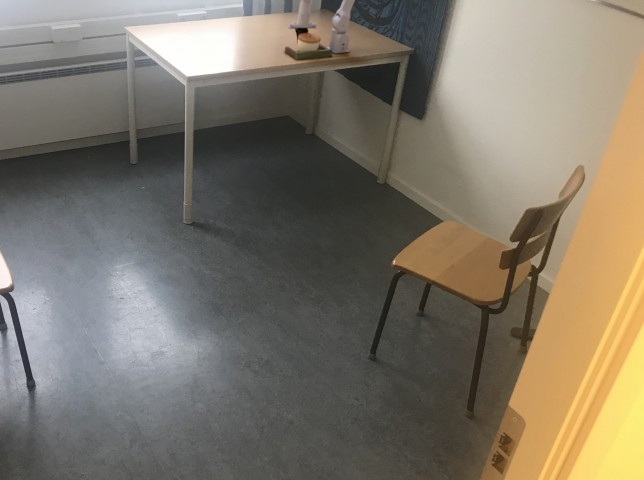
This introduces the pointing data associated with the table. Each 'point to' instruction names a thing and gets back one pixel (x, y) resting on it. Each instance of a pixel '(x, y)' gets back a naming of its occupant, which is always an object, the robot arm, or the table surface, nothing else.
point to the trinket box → (308, 42)
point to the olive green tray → (309, 53)
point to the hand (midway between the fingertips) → (299, 44)
